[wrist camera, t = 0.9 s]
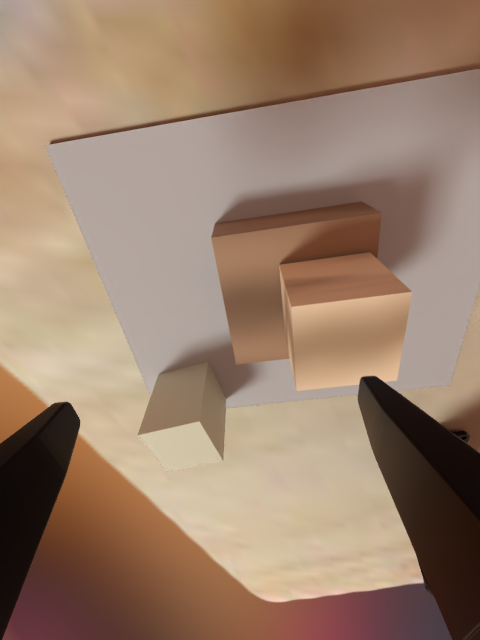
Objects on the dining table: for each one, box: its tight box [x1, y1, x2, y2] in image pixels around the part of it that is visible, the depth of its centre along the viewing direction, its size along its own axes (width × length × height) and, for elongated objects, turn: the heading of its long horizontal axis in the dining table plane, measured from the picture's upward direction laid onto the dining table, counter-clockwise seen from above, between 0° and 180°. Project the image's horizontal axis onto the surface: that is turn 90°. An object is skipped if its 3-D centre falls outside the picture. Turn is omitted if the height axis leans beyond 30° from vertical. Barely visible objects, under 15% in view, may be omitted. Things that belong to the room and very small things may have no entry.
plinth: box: [211, 201, 382, 365], centre depth 20 cm, size 9×9×3 cm
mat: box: [45, 69, 480, 408], centre depth 22 cm, size 22×26×1 cm
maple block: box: [279, 252, 412, 391], centre depth 16 cm, size 5×5×5 cm
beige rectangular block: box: [138, 362, 226, 472], centre depth 24 cm, size 4×4×6 cm
